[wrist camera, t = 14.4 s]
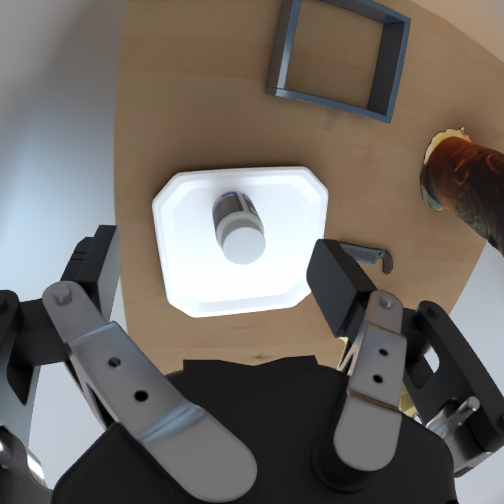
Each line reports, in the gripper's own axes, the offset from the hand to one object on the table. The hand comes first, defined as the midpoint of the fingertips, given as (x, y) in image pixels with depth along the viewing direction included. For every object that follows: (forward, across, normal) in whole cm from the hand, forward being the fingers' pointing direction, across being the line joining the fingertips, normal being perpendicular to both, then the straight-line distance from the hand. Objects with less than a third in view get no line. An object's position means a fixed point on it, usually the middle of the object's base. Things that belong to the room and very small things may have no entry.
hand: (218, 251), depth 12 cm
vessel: (+24, -37, -2) cm, 44 cm away
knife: (+24, -25, +14) cm, 37 cm away
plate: (+24, -7, +13) cm, 28 cm away
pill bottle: (+22, -5, +8) cm, 24 cm away
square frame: (+24, -13, -12) cm, 30 cm away
